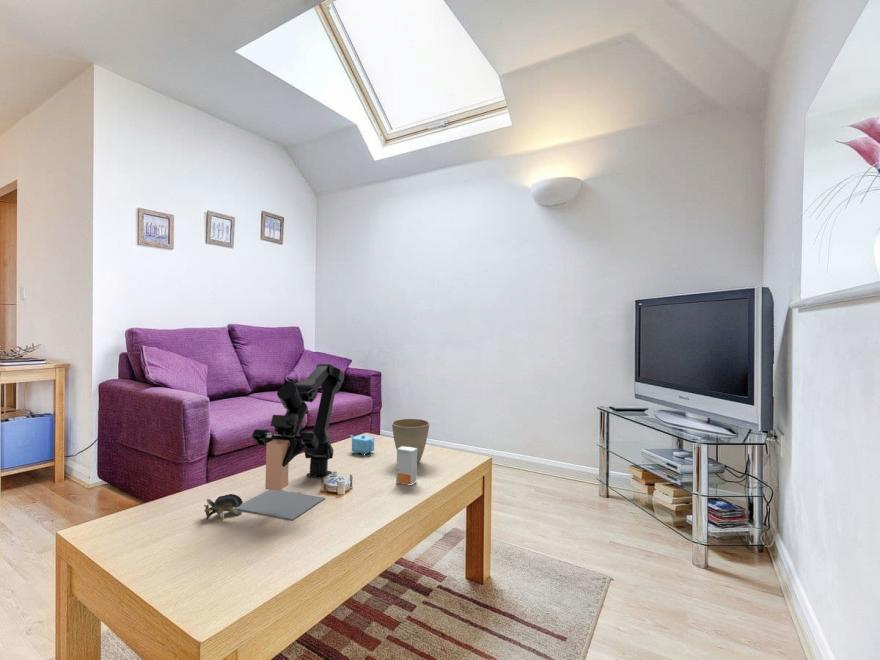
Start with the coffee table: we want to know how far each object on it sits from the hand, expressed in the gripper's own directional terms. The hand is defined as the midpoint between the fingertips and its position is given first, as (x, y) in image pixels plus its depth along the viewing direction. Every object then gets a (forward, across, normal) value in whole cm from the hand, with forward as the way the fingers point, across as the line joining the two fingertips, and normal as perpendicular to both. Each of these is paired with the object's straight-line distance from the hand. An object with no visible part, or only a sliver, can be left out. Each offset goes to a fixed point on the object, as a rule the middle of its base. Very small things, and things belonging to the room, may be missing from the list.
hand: (275, 465), depth 123 cm
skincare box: (-12, +32, +31) cm, 46 cm away
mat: (+5, -1, +14) cm, 15 cm away
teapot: (-34, +6, +54) cm, 63 cm away
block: (+4, 0, +6) cm, 7 cm away
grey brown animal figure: (+13, -12, +6) cm, 19 cm away
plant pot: (-27, +29, +47) cm, 61 cm away
